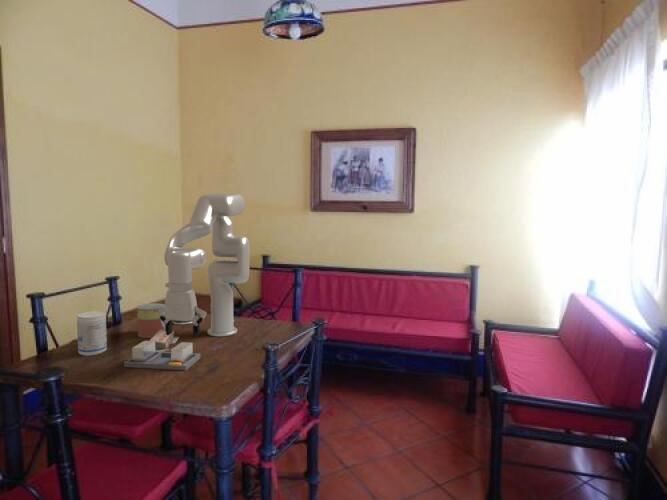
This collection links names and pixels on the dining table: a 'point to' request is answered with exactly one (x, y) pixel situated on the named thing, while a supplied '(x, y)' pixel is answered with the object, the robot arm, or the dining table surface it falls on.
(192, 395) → the dining table surface
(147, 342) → the panel seated
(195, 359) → the rack
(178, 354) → the white rectangular block
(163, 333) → the packaged product
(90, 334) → the supplement tub
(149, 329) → the canned food
